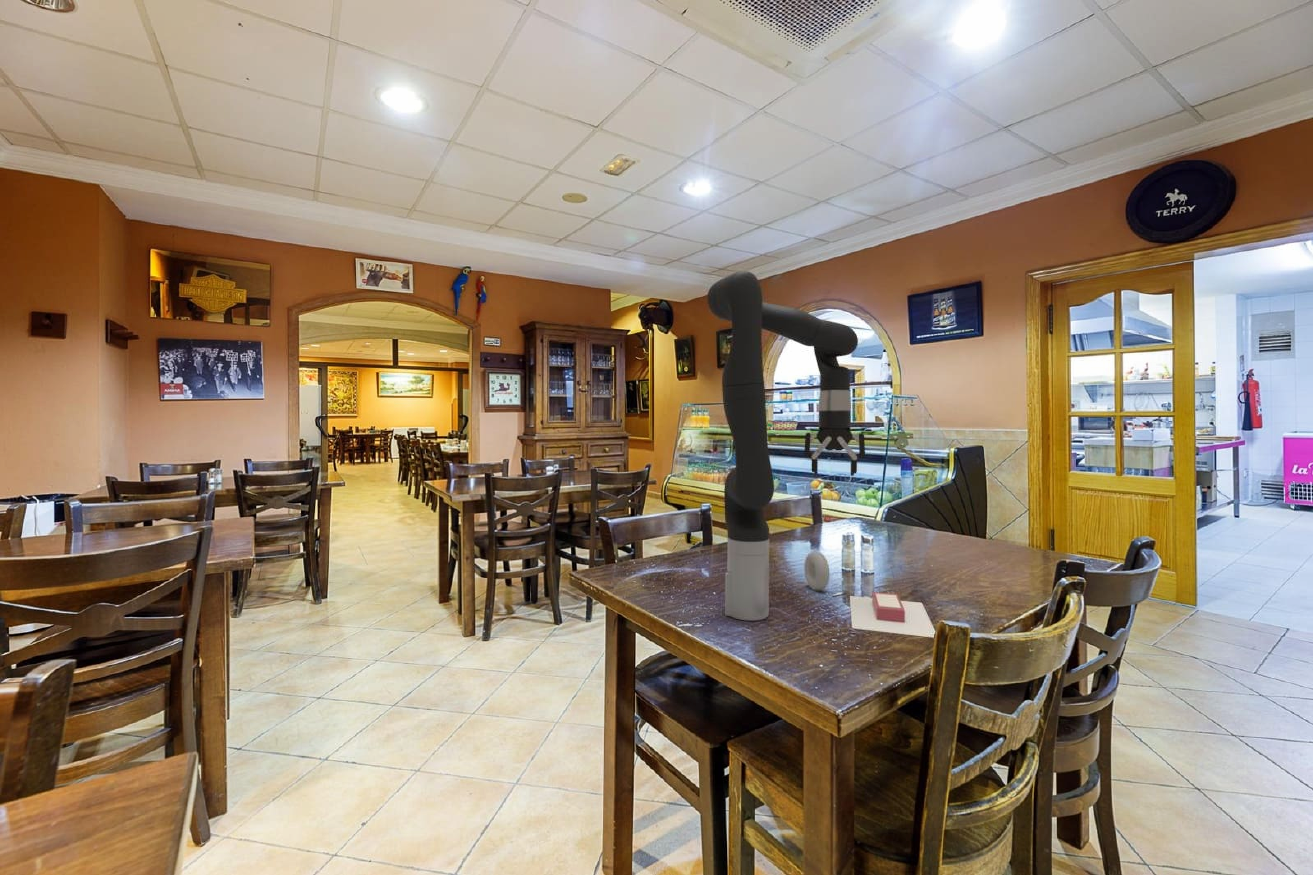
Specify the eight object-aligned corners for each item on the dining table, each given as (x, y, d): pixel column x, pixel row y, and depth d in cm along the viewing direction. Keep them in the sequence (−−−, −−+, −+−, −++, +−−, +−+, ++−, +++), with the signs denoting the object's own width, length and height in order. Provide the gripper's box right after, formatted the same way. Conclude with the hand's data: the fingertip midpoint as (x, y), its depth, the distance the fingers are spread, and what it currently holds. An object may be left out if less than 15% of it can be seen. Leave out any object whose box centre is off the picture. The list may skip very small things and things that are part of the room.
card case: (872, 602, 128) (876, 619, 117) (872, 591, 128) (876, 607, 116) (897, 604, 126) (904, 622, 115) (897, 593, 126) (904, 610, 115)
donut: (832, 596, 134) (832, 556, 134) (818, 596, 134) (819, 556, 134) (814, 584, 144) (814, 547, 144) (801, 584, 144) (802, 547, 143)
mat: (852, 630, 112) (852, 628, 112) (849, 598, 133) (849, 595, 133) (938, 640, 107) (938, 637, 107) (921, 605, 128) (921, 602, 128)
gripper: (803, 409, 132) (803, 475, 133) (866, 408, 128) (865, 477, 128) (805, 409, 139) (805, 472, 140) (864, 409, 135) (864, 474, 135)
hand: (833, 474), depth 134 cm, fingers open, 8 cm apart
